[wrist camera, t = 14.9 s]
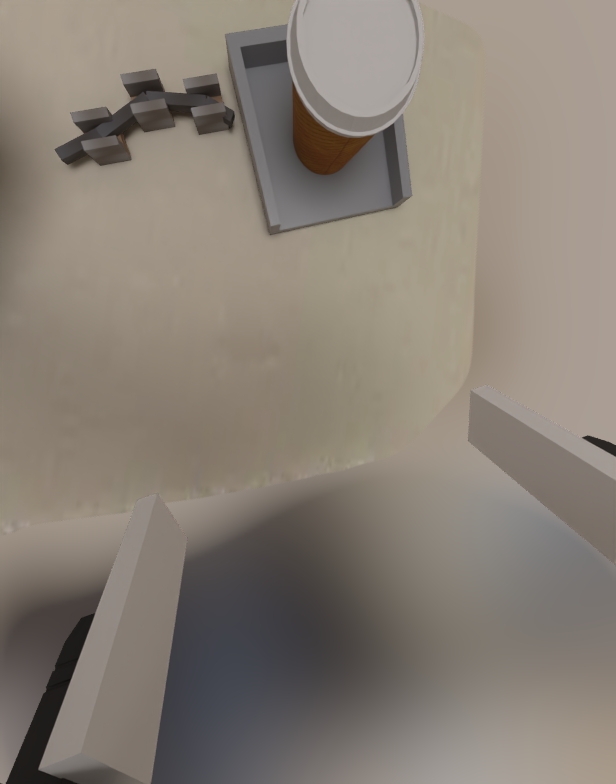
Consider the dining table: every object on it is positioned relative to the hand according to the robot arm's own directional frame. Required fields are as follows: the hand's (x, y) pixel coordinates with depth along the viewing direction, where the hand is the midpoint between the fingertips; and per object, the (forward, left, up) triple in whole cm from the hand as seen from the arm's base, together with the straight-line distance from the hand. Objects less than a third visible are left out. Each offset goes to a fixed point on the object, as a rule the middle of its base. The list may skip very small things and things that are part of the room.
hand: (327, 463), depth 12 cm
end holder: (+10, +22, -26) cm, 35 cm away
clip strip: (-6, +26, -26) cm, 37 cm away
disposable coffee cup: (+10, +22, -25) cm, 34 cm away
